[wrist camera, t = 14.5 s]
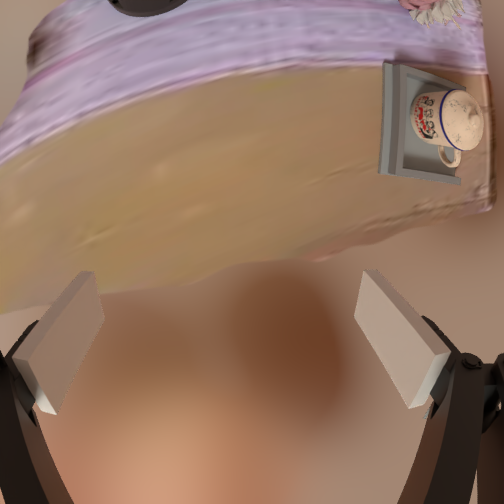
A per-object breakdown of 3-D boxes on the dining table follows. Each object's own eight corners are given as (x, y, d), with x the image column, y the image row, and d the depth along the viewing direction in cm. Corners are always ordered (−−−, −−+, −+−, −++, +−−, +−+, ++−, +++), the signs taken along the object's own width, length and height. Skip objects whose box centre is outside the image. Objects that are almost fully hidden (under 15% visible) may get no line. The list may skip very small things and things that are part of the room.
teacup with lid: (404, 89, 37) (450, 84, 27) (446, 94, 38) (492, 92, 27) (410, 163, 42) (456, 175, 31) (450, 161, 42) (496, 174, 31)
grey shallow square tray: (382, 63, 36) (392, 59, 33) (456, 87, 38) (467, 86, 35) (378, 173, 43) (387, 176, 40) (450, 183, 44) (461, 187, 41)
